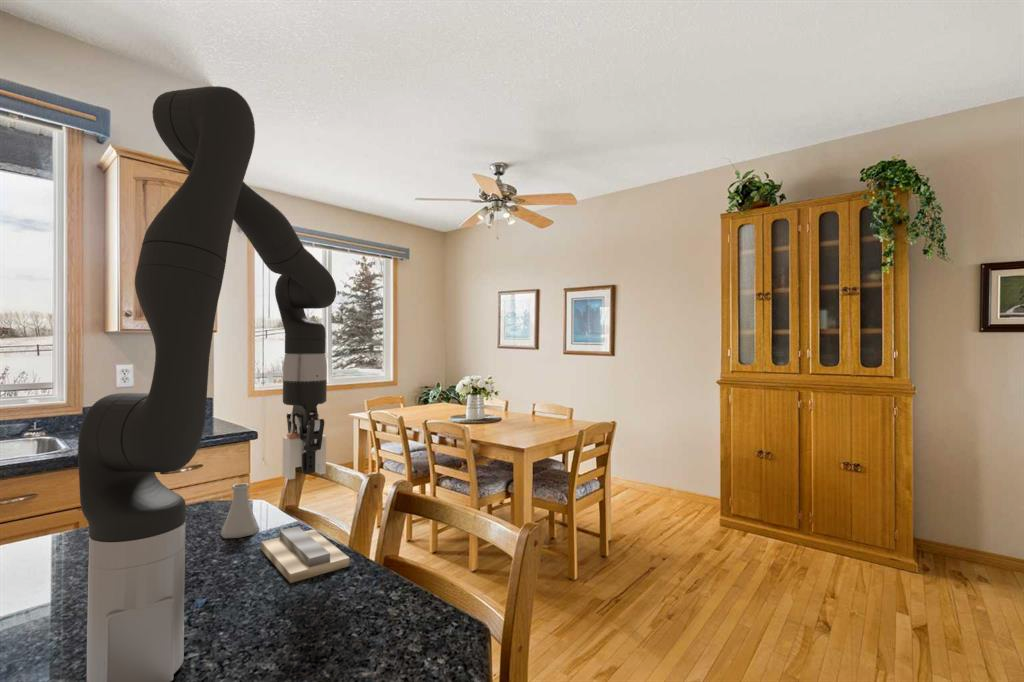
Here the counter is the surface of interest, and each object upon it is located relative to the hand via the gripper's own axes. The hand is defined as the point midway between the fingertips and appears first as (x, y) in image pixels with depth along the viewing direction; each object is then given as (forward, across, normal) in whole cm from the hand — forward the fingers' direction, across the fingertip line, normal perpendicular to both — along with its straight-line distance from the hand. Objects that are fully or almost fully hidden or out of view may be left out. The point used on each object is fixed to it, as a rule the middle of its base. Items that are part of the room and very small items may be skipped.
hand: (304, 470), depth 92 cm
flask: (+16, +21, +6) cm, 27 cm away
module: (+1, 0, 0) cm, 1 cm away
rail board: (+16, 0, 0) cm, 16 cm away
